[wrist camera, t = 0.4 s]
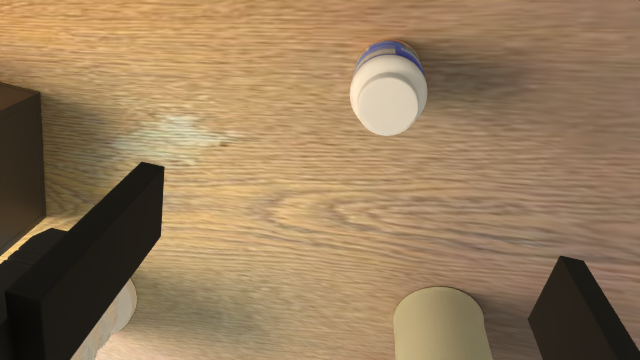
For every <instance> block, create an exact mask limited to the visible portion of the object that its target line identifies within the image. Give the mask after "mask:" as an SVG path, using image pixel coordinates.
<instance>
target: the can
mask: <svg viewBox="0 0 640 360" xmlns="http://www.w3.org/2000/svg"><path fill="white" fill-rule="evenodd" d="M393 329H394V333H395V352H396V360H493V359H492V355H491V351H490V347H489V343H488V339H487V335H486V331H485V327H484V316H483V313H482V310H481V308H480V307H479V305H478V304H477V303H476V301H475V300H474V299H473V298H471V297H470V296H469V295H467V294H465V293H464V292H461V291H459V290H456V289H453V288H448V287H429V288H424V289H421V290H418V291H415V292H413V293H411V294H410V295H408V296H407V297H405V298H404V299H403V300H402V301H401V302H400V303H399V305H398V306H397V308H396V310H395V312H394V315H393Z"/></svg>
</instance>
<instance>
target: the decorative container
mask: <svg viewBox="0 0 640 360" xmlns="http://www.w3.org/2000/svg"><path fill="white" fill-rule="evenodd" d="M136 304H137V295H136V290H135V287H134V285H133V283H132V280H131V278H130V279H129V280H128V282H127V283H126V284H125V286H124V287H123V288H122V290H121V291H120V293H119V294H118V295H117V297H116V298H115V299H114V301H113V302H112V303H111V305H110V306H109V308H108V309H107V310H106V312H105V313H104V314H103V316H102V317H101V319H100V320H99V321H98V323H97V324H96V325H95V327H94V328H93V329H92V331H91V332H90V334H89V335H88V336H87V338H86V339H85V340H84V342H83V343H82V344H81V346H80V347H79V349H78V350H77V351H76V353H75V354H74V355H73V357H72V358H71V359H70V360H95V357H96V354H97V352H98V350H99V349H100V348H101V347H102V346H104V345H105V344H106V342H107V341H108V340H109V338H110V336H111V334H113V333H116V332H118V331H119V330H121V329H122V328H123V327H124V326H126V324H127V323H128V321H129V320H130V318H131V317H132V315H133V313H134V311H135V309H136Z"/></svg>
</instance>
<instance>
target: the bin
mask: <svg viewBox="0 0 640 360" xmlns="http://www.w3.org/2000/svg"><path fill="white" fill-rule="evenodd" d="M45 218H46V205H45V185H44V165H43V145H42V124H41V104H40V92H37V91H33V90H29V89H24V88H20V87H16V86H12V85H8V84H4V83H0V256H1V255H2V254H3V253H5V252H6V251H7V250H8V249H9V248H10V247H12V246H13V245H14V244H15V243H16V242H18V241H19V240H20V239H21V238H22V237H23V236H25V235H26V234H27V233H28V232H29V231H30V230H32V229H33V228H34V227H35V226H36V225H38V224H39V223H40V222H41V221H42V220H43V219H45Z"/></svg>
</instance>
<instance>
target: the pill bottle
mask: <svg viewBox="0 0 640 360" xmlns="http://www.w3.org/2000/svg"><path fill="white" fill-rule="evenodd" d="M426 100H427V84H426V80H425V76H424V73H423V69H422V65H421V62H420V59H419V57H418V55H417V53H416V52H415V51H414V50H413V49H412V48H411V47H410V46H409V45H408V44H406V43H404V42H402V41H399V40H395V39H384V40H379V41H376V42H374V43H372V44H370V45H369V46H368V47H367V48H365V49H364V50H363V51H362V53H361V54H360V56H359V58H358V60H357V63H356V67H355V72H354V75H353V79H352V83H351V88H350V101H351V105H352V108H353V111H354V113H355V114H356V116H357V117H358V118H359V120H360V121H361V122H362V123H363V125H364V126H365V127H366V128H367V129H368V130H370V131H371V132H373V133H375V134H378V135H383V136H392V135H397V134H399V133H402V132H403V131H405V130H407V129H408V128H409V127H410V126H411V125H412V124H413V122H414V121H415V120H416V119H417V118H418V117H419V116H420V115H421V113H422V111H423V109H424V107H425V104H426Z"/></svg>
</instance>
